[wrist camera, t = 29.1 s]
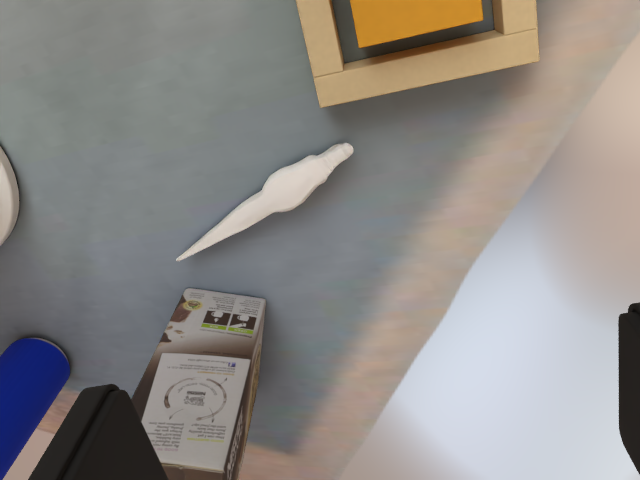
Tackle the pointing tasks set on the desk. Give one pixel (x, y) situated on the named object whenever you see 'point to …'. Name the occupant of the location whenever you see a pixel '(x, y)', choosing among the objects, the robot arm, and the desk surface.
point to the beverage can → (27, 392)
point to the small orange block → (409, 18)
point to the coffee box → (203, 385)
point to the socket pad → (415, 54)
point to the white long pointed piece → (276, 195)
